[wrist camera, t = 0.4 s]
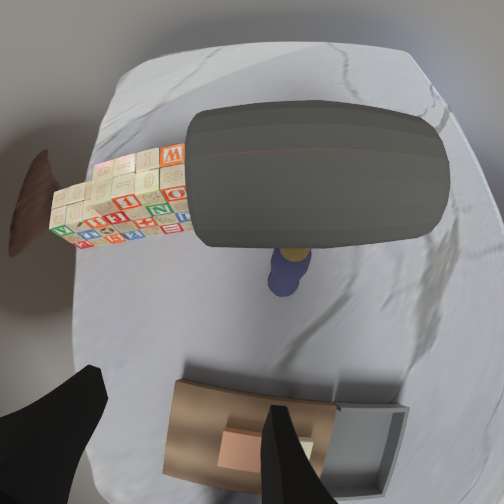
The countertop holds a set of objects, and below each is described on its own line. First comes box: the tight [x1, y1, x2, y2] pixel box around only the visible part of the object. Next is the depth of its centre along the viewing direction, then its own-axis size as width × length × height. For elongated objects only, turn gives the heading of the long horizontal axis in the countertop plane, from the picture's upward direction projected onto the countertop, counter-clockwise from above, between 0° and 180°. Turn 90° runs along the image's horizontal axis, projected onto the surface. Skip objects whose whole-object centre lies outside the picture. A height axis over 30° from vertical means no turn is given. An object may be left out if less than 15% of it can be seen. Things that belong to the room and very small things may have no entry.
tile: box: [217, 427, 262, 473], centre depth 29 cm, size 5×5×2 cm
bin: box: [320, 402, 410, 501], centre depth 29 cm, size 14×10×4 cm
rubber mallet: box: [184, 100, 450, 297], centre depth 25 cm, size 12×8×30 cm, turn 92°
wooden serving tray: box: [163, 379, 337, 494], centre depth 31 cm, size 14×20×3 cm
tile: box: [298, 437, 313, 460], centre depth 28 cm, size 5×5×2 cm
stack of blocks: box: [49, 143, 194, 249], centre depth 37 cm, size 21×6×12 cm, turn 99°
